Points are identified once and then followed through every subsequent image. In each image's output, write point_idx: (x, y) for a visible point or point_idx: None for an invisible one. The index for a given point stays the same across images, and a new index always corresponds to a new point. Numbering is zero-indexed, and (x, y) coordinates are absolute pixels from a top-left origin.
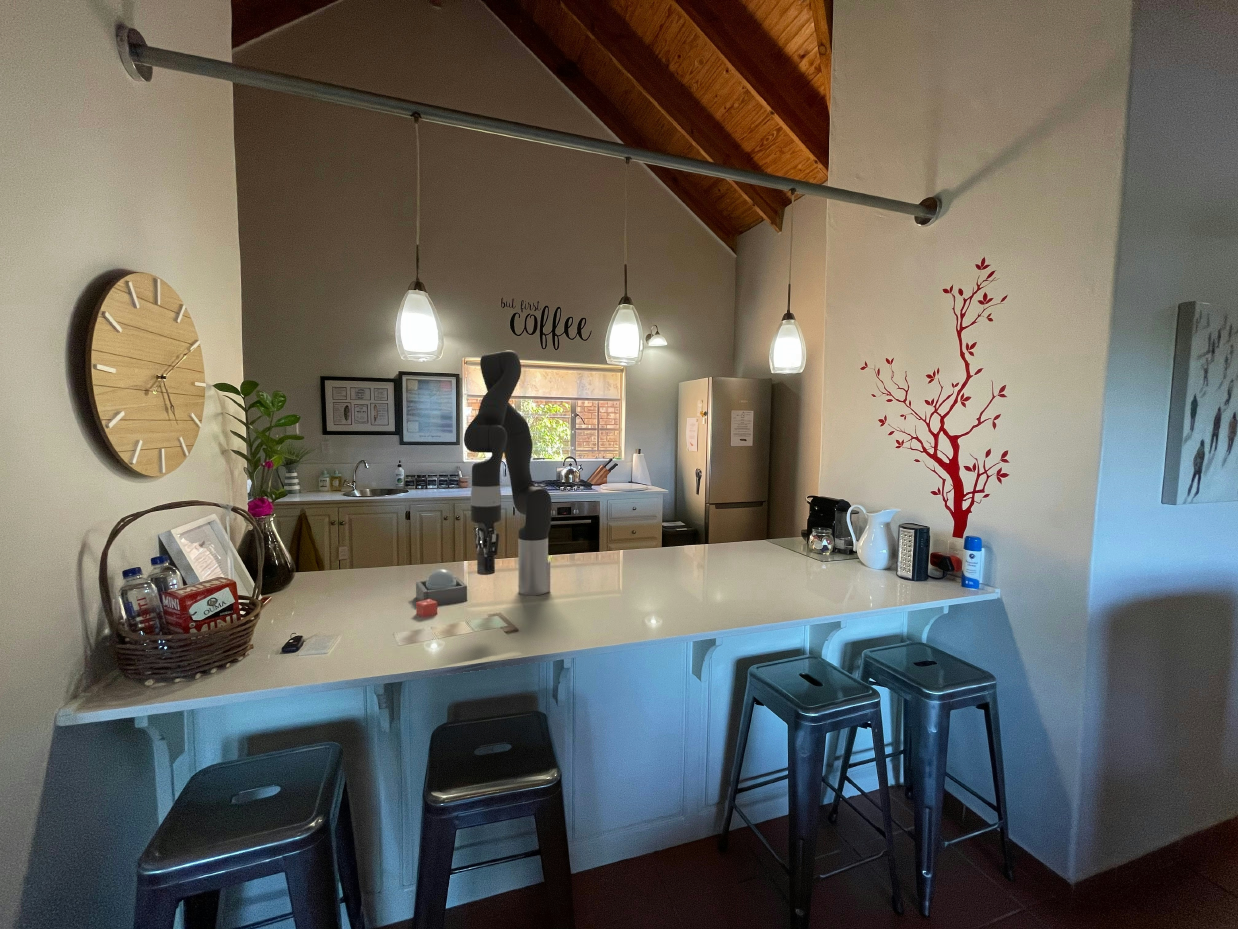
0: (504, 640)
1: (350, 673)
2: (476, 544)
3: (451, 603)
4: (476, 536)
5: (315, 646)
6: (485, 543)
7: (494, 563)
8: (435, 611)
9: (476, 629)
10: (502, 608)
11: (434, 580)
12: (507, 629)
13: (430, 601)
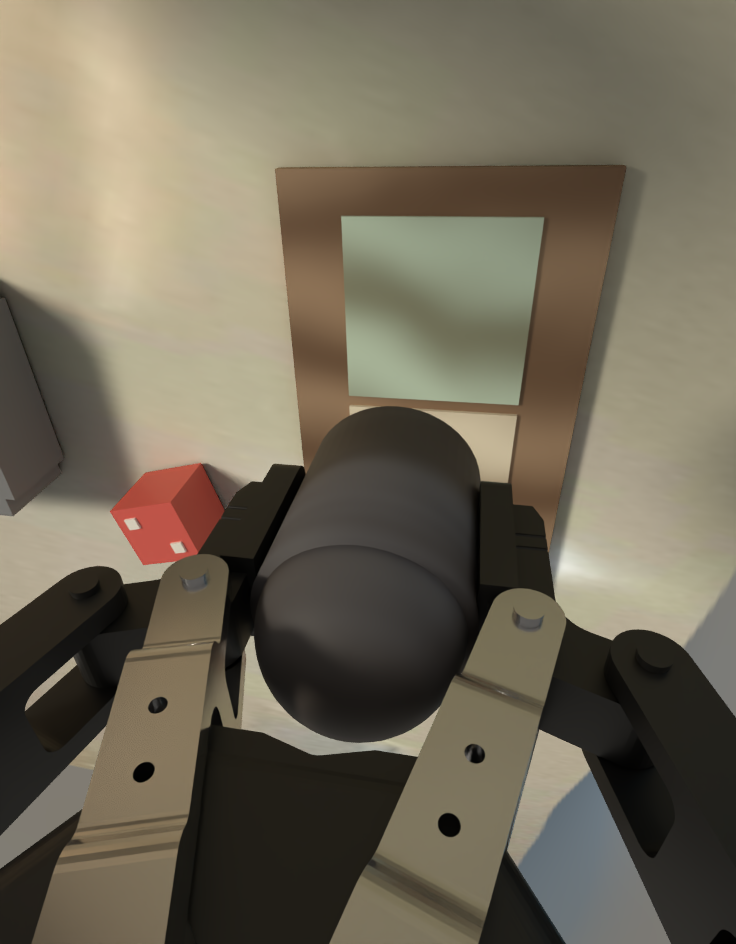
0: (684, 293)
1: (577, 747)
2: (110, 704)
3: (27, 361)
4: (19, 811)
5: (330, 752)
6: (227, 706)
7: (435, 477)
8: (194, 485)
9: (492, 392)
10: (154, 105)
11: None
12: (591, 239)
13: (148, 520)
